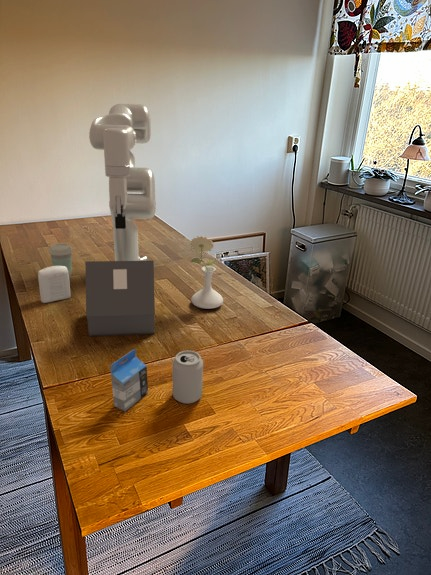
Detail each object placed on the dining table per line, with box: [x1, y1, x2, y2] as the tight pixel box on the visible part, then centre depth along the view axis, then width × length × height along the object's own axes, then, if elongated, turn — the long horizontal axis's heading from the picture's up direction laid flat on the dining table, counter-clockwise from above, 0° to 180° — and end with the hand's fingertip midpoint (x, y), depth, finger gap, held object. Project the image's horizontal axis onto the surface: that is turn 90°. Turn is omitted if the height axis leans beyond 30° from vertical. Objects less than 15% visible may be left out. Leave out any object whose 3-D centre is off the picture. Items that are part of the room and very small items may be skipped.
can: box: [172, 350, 204, 404], centre depth 113 cm, size 8×8×12 cm
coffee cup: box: [48, 243, 73, 278], centre depth 176 cm, size 8×9×12 cm
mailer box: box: [86, 314, 155, 337], centre depth 146 cm, size 16×20×7 cm
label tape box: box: [110, 348, 149, 412], centre depth 111 cm, size 9×4×12 cm, turn 148°
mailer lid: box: [84, 259, 156, 318], centre depth 138 cm, size 17×20×1 cm
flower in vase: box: [189, 236, 224, 310], centre depth 156 cm, size 13×11×25 cm
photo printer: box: [37, 265, 72, 304], centre depth 158 cm, size 10×4×12 cm, turn 123°
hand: (120, 227), depth 147 cm, fingers closed
